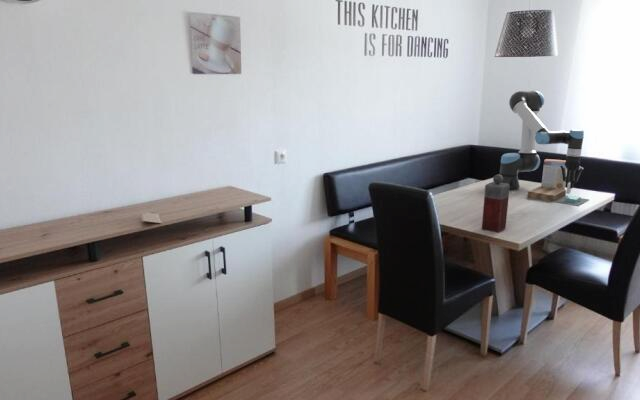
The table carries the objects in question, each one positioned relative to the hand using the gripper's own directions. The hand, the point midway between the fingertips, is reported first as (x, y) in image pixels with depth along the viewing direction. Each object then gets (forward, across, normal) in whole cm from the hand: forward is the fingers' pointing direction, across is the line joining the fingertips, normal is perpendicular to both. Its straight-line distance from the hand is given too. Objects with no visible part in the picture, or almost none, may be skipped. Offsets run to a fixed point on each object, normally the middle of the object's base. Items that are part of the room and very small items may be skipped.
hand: (568, 193), depth 294 cm
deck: (+5, -12, 0) cm, 13 cm away
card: (+2, +3, 0) cm, 4 cm away
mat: (+4, +2, 0) cm, 5 cm away
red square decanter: (+4, -8, -84) cm, 85 cm away
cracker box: (+5, -15, +19) cm, 25 cm away
